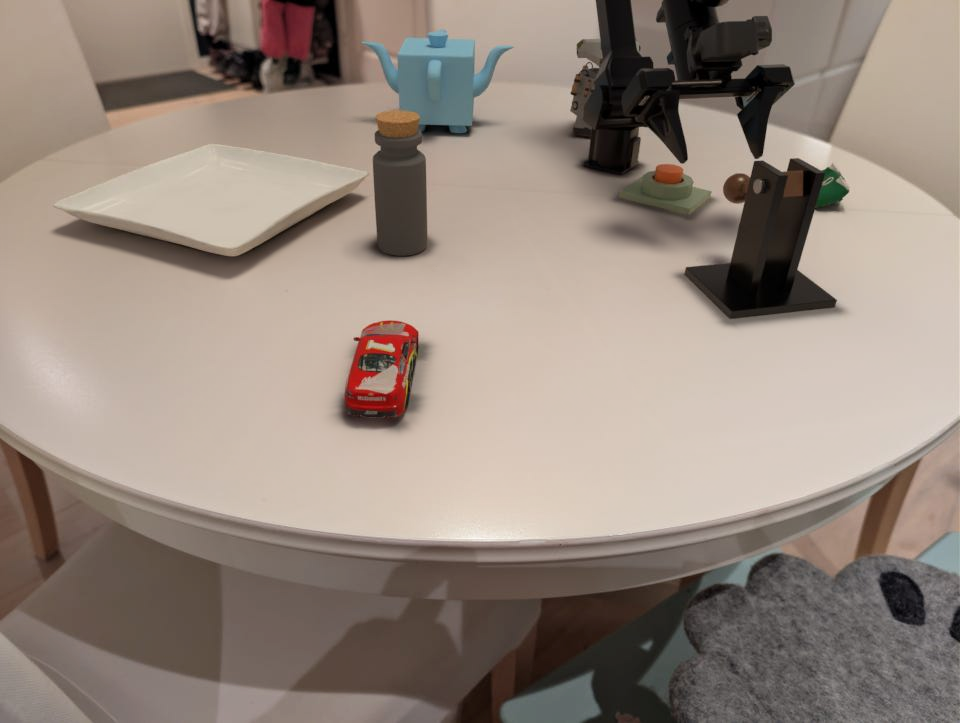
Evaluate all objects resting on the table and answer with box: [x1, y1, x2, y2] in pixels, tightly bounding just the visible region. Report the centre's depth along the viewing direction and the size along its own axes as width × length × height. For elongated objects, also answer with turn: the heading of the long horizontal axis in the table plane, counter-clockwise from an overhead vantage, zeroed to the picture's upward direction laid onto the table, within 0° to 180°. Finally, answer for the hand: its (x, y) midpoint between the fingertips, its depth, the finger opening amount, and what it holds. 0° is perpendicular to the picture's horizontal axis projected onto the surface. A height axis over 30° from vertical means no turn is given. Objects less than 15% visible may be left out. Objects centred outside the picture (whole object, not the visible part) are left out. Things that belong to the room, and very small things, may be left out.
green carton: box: [815, 162, 850, 209], centre depth 101 cm, size 9×4×6 cm
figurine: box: [569, 36, 642, 139], centre depth 123 cm, size 9×12×15 cm
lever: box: [722, 170, 803, 205], centre depth 76 cm, size 11×3×3 cm, turn 14°
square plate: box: [52, 143, 369, 257], centre depth 93 cm, size 27×27×4 cm
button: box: [654, 163, 684, 184], centre depth 99 cm, size 4×4×2 cm
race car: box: [344, 319, 419, 419], centre depth 63 cm, size 13×5×4 cm, turn 177°
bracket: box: [684, 157, 838, 320], centre depth 75 cm, size 10×12×14 cm
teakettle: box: [361, 29, 515, 134], centre depth 125 cm, size 19×19×15 cm
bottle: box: [372, 109, 428, 257], centre depth 83 cm, size 6×6×15 cm
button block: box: [618, 170, 712, 216], centre depth 100 cm, size 10×8×3 cm
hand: (722, 159), depth 83 cm, fingers open, 9 cm apart
